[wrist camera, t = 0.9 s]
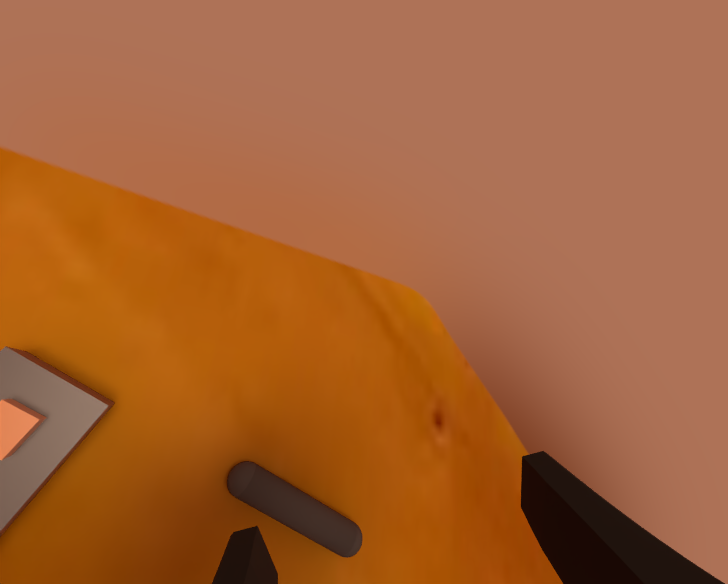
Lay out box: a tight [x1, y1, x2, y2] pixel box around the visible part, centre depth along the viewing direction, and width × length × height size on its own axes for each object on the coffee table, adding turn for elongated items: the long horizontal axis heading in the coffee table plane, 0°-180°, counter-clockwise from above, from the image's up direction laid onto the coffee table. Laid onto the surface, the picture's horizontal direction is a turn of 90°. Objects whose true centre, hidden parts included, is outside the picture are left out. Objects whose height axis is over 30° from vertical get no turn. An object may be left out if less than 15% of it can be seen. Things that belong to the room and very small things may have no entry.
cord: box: [227, 461, 362, 557], centre depth 23 cm, size 2×10×2 cm, turn 58°
